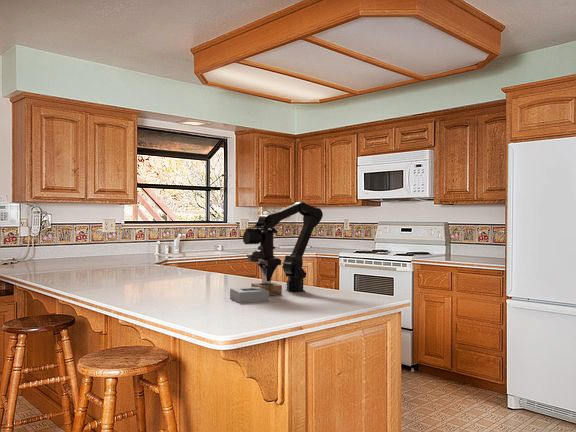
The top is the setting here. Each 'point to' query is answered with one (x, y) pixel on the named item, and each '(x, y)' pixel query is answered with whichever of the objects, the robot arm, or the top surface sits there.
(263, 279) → the lock pin
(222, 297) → the top surface
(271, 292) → the pin mount
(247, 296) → the socket block
